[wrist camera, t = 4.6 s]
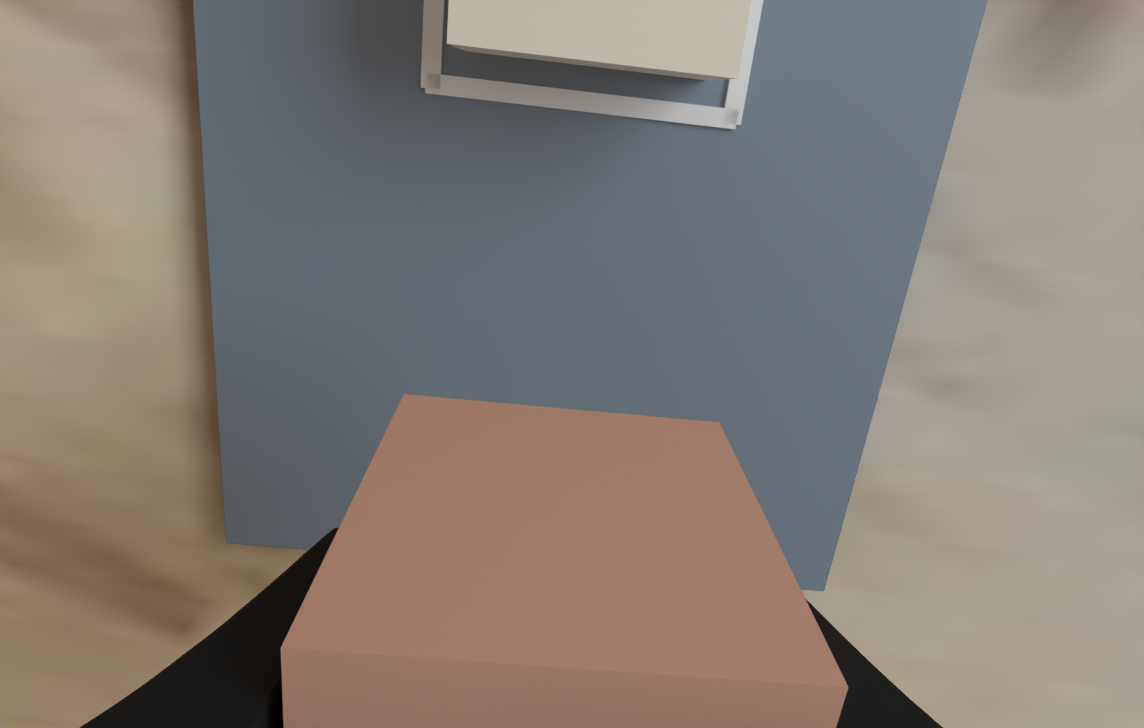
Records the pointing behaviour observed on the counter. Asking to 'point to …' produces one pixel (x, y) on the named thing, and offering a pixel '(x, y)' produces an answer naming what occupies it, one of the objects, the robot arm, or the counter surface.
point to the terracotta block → (555, 583)
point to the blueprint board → (565, 227)
